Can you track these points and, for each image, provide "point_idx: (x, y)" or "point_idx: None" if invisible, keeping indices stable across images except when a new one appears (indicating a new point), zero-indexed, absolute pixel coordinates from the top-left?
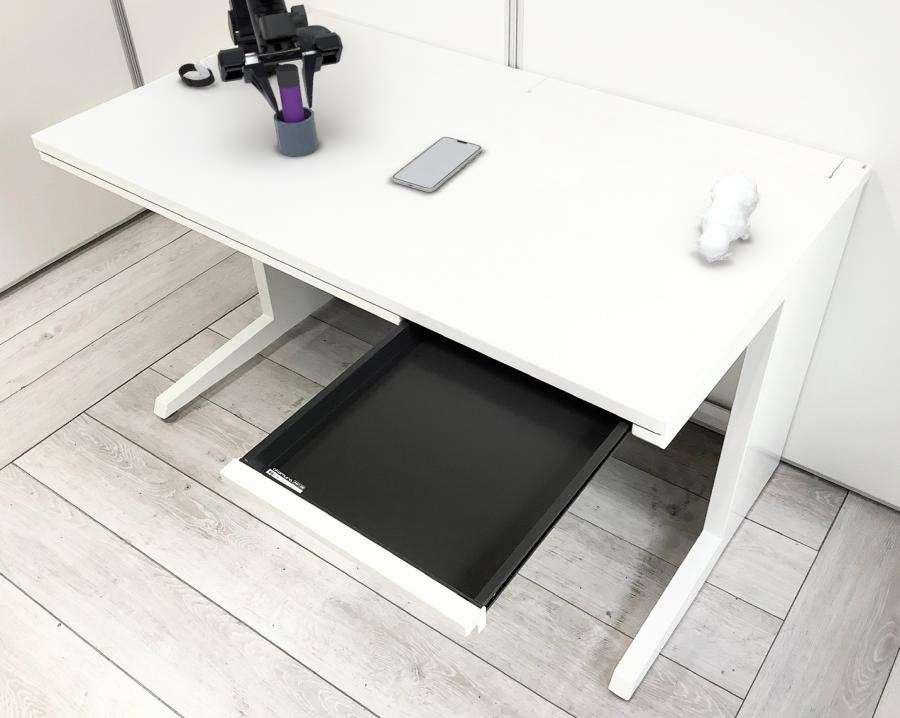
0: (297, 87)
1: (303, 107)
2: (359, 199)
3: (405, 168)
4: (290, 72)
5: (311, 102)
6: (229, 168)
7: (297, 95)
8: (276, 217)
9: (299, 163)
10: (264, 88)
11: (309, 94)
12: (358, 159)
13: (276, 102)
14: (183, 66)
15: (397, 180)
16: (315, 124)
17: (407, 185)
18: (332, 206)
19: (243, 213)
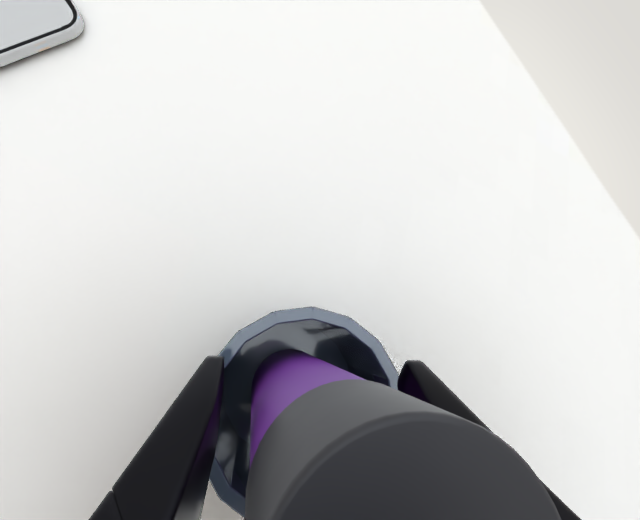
0: (291, 402)
1: (231, 489)
2: (218, 6)
3: (7, 41)
4: (397, 412)
5: (204, 366)
6: (510, 335)
7: (295, 382)
8: (431, 43)
9: (315, 272)
10: (549, 491)
11: (195, 405)
12: (124, 208)
13: (430, 394)
14: None
15: (72, 1)
16: None
17: None
18: (296, 14)
19: (497, 96)
